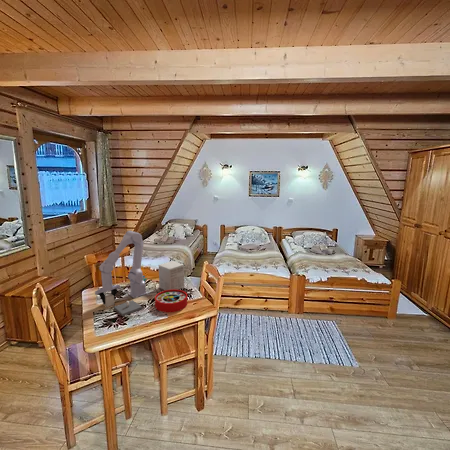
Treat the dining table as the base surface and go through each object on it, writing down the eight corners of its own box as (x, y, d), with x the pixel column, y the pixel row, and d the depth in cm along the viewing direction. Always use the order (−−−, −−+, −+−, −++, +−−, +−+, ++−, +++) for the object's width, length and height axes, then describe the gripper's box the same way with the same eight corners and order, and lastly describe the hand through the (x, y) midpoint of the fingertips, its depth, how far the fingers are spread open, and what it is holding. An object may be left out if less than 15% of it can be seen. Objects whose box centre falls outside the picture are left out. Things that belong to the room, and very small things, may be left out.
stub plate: (132, 302, 166) (132, 295, 165) (141, 309, 158) (141, 301, 157) (114, 308, 157) (113, 301, 157) (122, 316, 149) (122, 308, 148)
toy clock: (151, 293, 167) (180, 287, 176) (151, 301, 168) (180, 295, 177) (160, 306, 150) (192, 299, 159) (160, 316, 151) (192, 307, 160)
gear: (131, 285, 188) (131, 272, 194) (130, 288, 193) (131, 276, 198) (147, 284, 193) (147, 272, 198) (146, 288, 197) (146, 276, 202)
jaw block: (111, 301, 166) (110, 293, 165) (114, 304, 163) (113, 295, 162) (103, 304, 163) (102, 295, 162) (106, 307, 160) (105, 298, 158)
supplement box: (184, 287, 190) (184, 264, 186) (170, 293, 180) (169, 269, 177) (173, 282, 198) (173, 260, 195) (159, 287, 188) (158, 264, 185)
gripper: (116, 276, 168) (117, 296, 171) (92, 283, 158) (94, 303, 160) (120, 279, 163) (122, 299, 166) (96, 286, 153) (98, 307, 156)
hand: (108, 302), depth 163 cm, fingers closed on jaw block, 5 cm apart
